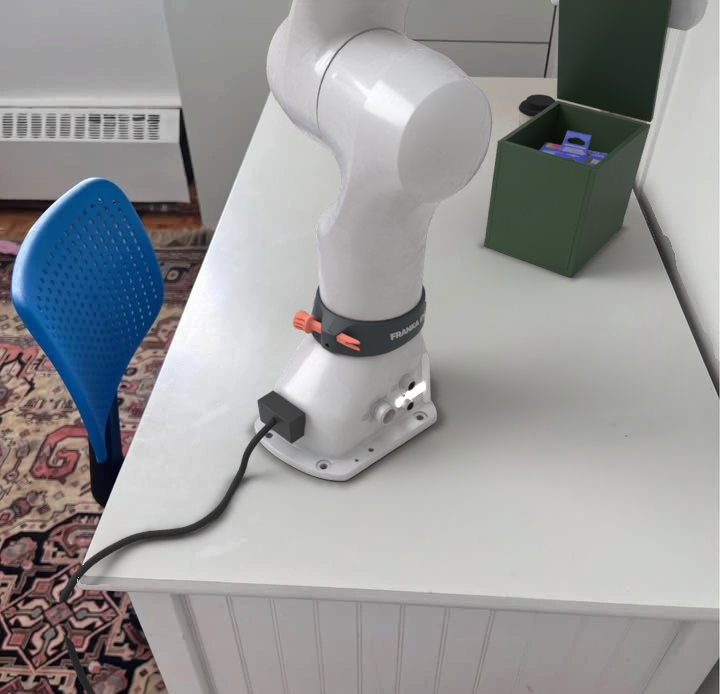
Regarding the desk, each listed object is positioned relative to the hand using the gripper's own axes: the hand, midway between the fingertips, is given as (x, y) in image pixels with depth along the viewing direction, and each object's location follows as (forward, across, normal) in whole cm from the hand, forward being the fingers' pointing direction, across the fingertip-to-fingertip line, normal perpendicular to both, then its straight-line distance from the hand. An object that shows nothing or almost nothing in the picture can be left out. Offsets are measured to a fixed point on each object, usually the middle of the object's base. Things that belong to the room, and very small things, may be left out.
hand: (611, 54), depth 98 cm
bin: (+24, 0, -7) cm, 25 cm away
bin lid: (-1, 0, -2) cm, 2 cm away
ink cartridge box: (+23, 0, -7) cm, 24 cm away
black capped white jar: (+24, -16, +15) cm, 32 cm away
